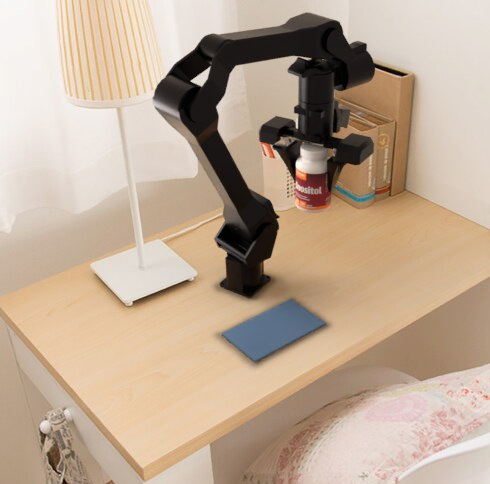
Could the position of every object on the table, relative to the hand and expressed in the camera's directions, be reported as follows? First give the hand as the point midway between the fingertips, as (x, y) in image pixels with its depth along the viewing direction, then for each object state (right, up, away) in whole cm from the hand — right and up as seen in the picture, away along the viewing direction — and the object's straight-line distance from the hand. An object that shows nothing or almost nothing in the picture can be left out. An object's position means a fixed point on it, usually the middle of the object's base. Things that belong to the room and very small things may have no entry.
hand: (314, 186), depth 127 cm
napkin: (-7, -24, -11) cm, 27 cm away
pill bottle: (0, -3, +2) cm, 4 cm away
